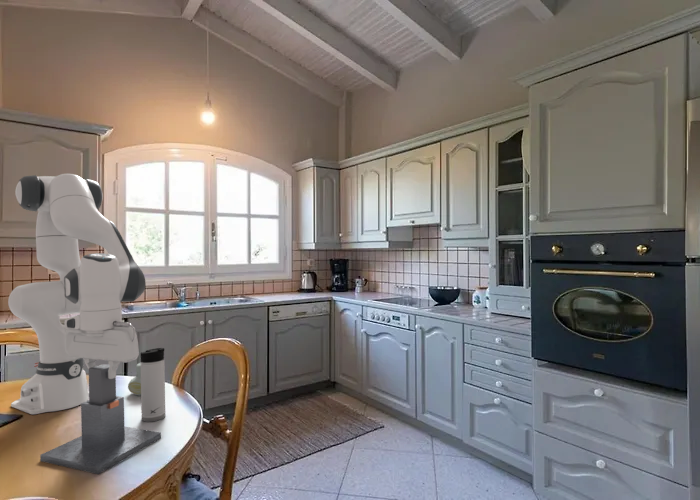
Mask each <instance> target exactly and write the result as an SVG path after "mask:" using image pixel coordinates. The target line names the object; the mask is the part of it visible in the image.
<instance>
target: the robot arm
mask: <svg viewBox="0 0 700 500" xmlns="http://www.w3.org/2000/svg"><path fill="white" fill-rule="evenodd" d="M14 193H15V197H16V201H17V202H18V204H19V206H20V207H21V208H22V209H23V210H26V211H30V212H31V211H32V212H35V213H36V212H37V216H36V222H35V225H36V226H35V244H36V245H35V246H36V247H35V248H36V249H35V251H36V260H37V262H38V264H39V265H40V266H42V267H43V268H45V269H48V270H49V271H53V272H55V273H57V275H58V276H59V280H53V281H37V282H36V281H35V282H30V283H26V284H21V285H18V286H16V287H15V288H13V289H12V290H11V292H10V294H9V296H8V300H7V301H8V308H9V310H10V313H12V314H13V315H14V316H15V317H17V318H18V319H21V320H22V321H25V323H27V324H28V325H29V326H31V328H32V329H33V330H34V332H35V334H36V336H37V340H38V348H39V361H38V362H35V363H34V367H35V368H36V370H35V374H34V375H33V376H31V378H29V379H28V380H27V381H26V382H24V384H22V385H21V388H20V398H18V399H16V400H14V401H13V402H11V404H10V407H12V408H15V409H17V410H19V411H21V412H25V413H26V414H30V415H37V414H43V413H49V412H58V411H62V410H68V409H71V408H75V407H77V406H79V405H80V406H81V403H83V402H86V401H88V400H89V385H88V381H87V374H86V373H87V372H86V371H85V370H84V367H85V366H86V367H87V370H88V371H89V368H92V367H96V366H97V363H96V361H107V365H110V367H109V370H108V371H106V372H105V375H106V376H105V377H106V378H107V379H113V378H115V377H117V370H118V368H119V366H120V364H121V363H125V364H126V363H130V362H133V361H135V360H137V359H138V358H139V355H140V350H139V341H138V335H137V332H136V328H135V327H134V325H132V323H131V322H128V321H123V319H122V318H123V317H122V314H123V311H122V303H123V302H124V303H128V302H132V303H133V302H135V301H136V300H137V299H139V298H140V297H141V295H143V293H144V292H145V290H146V283H147V282H146V278H145V277H146V276H145V274H144V272H143V271H142V269H141V267H140V266H139V265H138V264H137V263H136V261H135V259H134V257H133V256H132V254H131V251H130V250H129V248H128V246H127V244H126V242H125V240H124V238H123V236H122V234H121V233H120V231H119V228H118V227H117V226H116V224H115V223H114V222H113V221H111V220H110V219H108V218H107V217H105V216H104V215H103V214H102V213H101V212H100V211H99V209H100V208H101V206H102V203H103V201H104V200H103V198H104V194H103V190H102V187H101V185H100V184H99V182H97V181H95V180H92V179H88V178H84V179H83V178H82V177H81V176H79V175H77V174H74V173H61V174H59V175H55V176H53V175H52V176H50V175H49V176H48V175H42V176H41V175H40V176H37V175H36V174H35V175H26V176H25V175H24V176H22V177H21V178H20V179H19V180H18V183H17V184H16V186H15V192H14ZM79 240H80V241H85V242H88V243H92V244H95V245H97V246H100V247H102V248H103V249H105V251H106V252H107V253H97V252H96V253H88V254H86V255H83V256H82V257H81V256H80V249H79ZM74 314H75V316H72V317H70V318H66V319H64V323H62V322H61V320H60V319H61V318H60V317H61V316H68V315H74ZM76 314H77V315H76Z"/></svg>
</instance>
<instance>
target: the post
mask: <svg viewBox="0 0 700 500" xmlns="http://www.w3.org/2000/svg"><path fill="white" fill-rule="evenodd" d="M109 367H110V365H108V364H105V363H103V364H100V365H96V367H92V368H89V370H88V391H89V403H93V404H100V405H102V404H104V403H107V402H109V401H112V400H114V399H116V396H117V380H116V377H117V376H116V377H115V378H113V379H107V378H106V377H105V376H106V375H105V372H106V371H108V370H109Z"/></svg>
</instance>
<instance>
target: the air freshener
mask: <svg viewBox="0 0 700 500" xmlns="http://www.w3.org/2000/svg"><path fill="white" fill-rule="evenodd" d="M140 364H141V363H140V362H138V363H137V364H136V365H135V372H136V373H135V375H136V376H135V377H133V378H131V380H130V381H129V383H128V384H127V389H128V390H129V392H130V393H131V394H133V395H136V396H138V397H141V366H140Z"/></svg>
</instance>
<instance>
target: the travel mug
mask: <svg viewBox="0 0 700 500" xmlns="http://www.w3.org/2000/svg"><path fill="white" fill-rule="evenodd" d="M139 355H140V362H139V363H141V364H140V366H141V396H140V406H141V408H140V410H141V412H140V413H141V421H143V422H145V423H146V422H147V423H153V422H156V421H160V420H162V419H164V418H165V417H166V386H165V385H166V381H165V380H166V377H165V375H166V374H165V372H166V369H165V348H164V347H158V348H152V349H147V350H145V351H143V352H139Z"/></svg>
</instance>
